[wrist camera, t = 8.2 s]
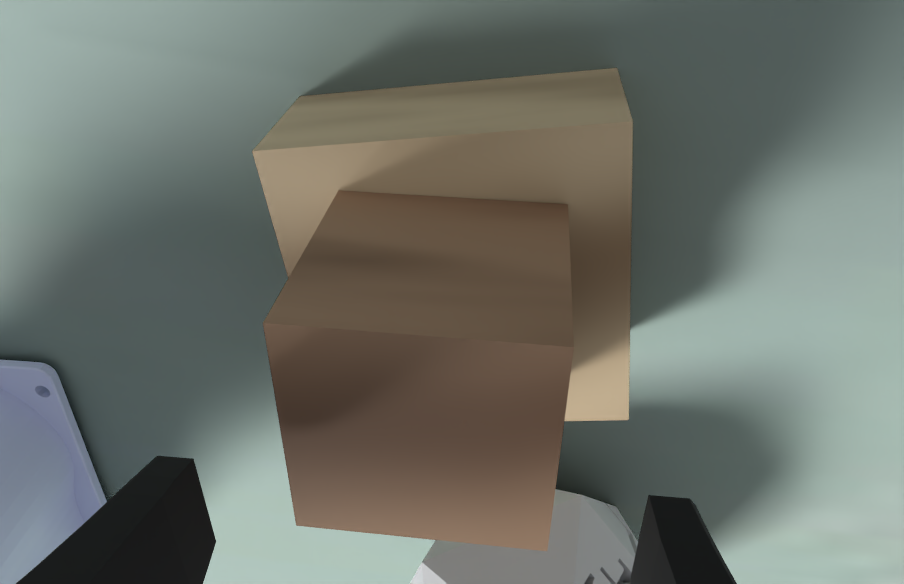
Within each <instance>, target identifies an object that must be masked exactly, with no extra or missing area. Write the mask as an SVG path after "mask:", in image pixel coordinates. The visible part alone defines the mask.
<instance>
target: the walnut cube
mask: <svg viewBox="0 0 904 584" xmlns="http://www.w3.org/2000/svg"><path fill="white" fill-rule="evenodd" d="M263 327H264V333H265V339H266V345H267V351H268V357H269V363H270V369H271V375H272V381H273V387H274V393H275V400H276V406H277V412H278V418H279V424H280V430H281V436H282V442H283V448H284V454H285V460H286V466H287V472H288V478H289V484H290V490H291V496H292V502H293V508H294V514H295V521H296V525H297V526H307V527H316V528H326V529H336V530H345V531H355V532H365V533H374V534H384V535H394V536H403V537H413V538H423V539H432V540H442V541H452V542H461V543H471V544H481V545H490V546H500V547H510V548H519V549H529V550H539V551H547V550H548V542H549V535H550V527H551V520H552V512H553V504H554V497H555V489H556V481H557V474H558V466H559V458H560V451H561V443H562V436H563V428H564V420H565V413H566V405H567V397H568V390H569V382H570V374H571V367H572V359H573V352H574V334H573V311H572V287H571V263H570V240H569V216H568V204H556V203H539V202H523V201H506V200H490V199H473V198H457V197H440V196H423V195H407V194H390V193H374V192H357V191H341V190H338V192H337V194H336V196H335V197H334V199H333V201H332V203H331V204H330V206H329V208H328V210H327V211H326V213H325V215H324V217H323V218H322V220H321V222H320V224H319V225H318V227H317V229H316V231H315V232H314V234H313V236H312V238H311V239H310V241H309V243H308V245H307V246H306V248H305V250H304V252H303V253H302V255H301V257H300V259H299V260H298V262H297V264H296V266H295V267H294V269H293V271H292V273H291V275H290V276H289V278H288V280H287V282H286V283H285V285H284V287H283V289H282V290H281V292H280V294H279V296H278V297H277V299H276V301H275V303H274V304H273V306H272V308H271V310H270V311H269V313H268V315H267V317H266V318H265V320H264V322H263Z"/></svg>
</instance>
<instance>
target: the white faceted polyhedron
mask: <svg viewBox="0 0 904 584" xmlns="http://www.w3.org/2000/svg"><path fill="white" fill-rule="evenodd" d="M637 545H638V541H637V539H636V538H635V536H634V534H633V533H632V531H631V530H630V528H629V526H628V525H627V523H626V522H625V520H624V518H623V517H622V515H621V514H620V512H619V510H618V509H617V507H616V506H613V505H610V504H607V503H604V502H601V501H598V500H595V499H592V498H589V497H586V496H584V495H580V494H576V493H571V492H566V491H562V490H557V489H555V497H554V504H553V512H552V520H551V527H550V535H549V542H548V550H547V551H539V550H529V549H519V548H510V547H500V546H490V545H481V544H471V543H461V542H452V541H442V540H436V541H435V542H434V544H433V545H432V547H431V549H430V550H429V552H428V553H427V555H426V557H425V558H424V560H423V561H422V563H421V565H420V566H419V568H418V570H417V572H416V573H415V575H414V577H413V579H412V580H411V582H410V584H630V577H631V572H632V568H633V563H634V559H635V554H636V550H637Z"/></svg>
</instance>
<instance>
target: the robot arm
mask: <svg viewBox="0 0 904 584" xmlns="http://www.w3.org/2000/svg"><path fill="white" fill-rule="evenodd" d="M215 543H216V540H215V536H214V532H213V529H212V525H211V521H210V518H209V514H208V510H207V507H206V503H205V499H204V496H203V492H202V488H201V485H200V481H199V478H198V474H197V470H196V467H195V463H194V459H190V458H177V457H165V456H157V457H155V458H154V459H153V460H152V461H151V462H150V463H149V464H148V465H146V466H145V467H144V468H143V469H142V470H141V471H140V472H139V473H138V474H137V475H135V476H134V477H133V478H132V479H131V480H130V481H129V482H128V483H127V484H126V485H125V486H124V487H123V488H121V489H120V490H119V491H118V492H117V493H116V494H115V495H114V496H113V497H112V498H111V499H110V500H109V501H106V498H105V496H104V493H103V491H102V488H101V485H100V483H99V480H98V478H97V475H96V472H95V470H94V467H93V465H92V462H91V459H90V457H89V454H88V452H87V449H86V446H85V444H84V441H83V439H82V436H81V433H80V431H79V428H78V426H77V423H76V420H75V418H74V415H73V413H72V410H71V408H70V405H69V402H68V400H67V397H66V395H65V392H64V389H63V387H62V384H61V382H60V379H59V376H58V374H57V372H56V371H55V369H53V368H52V367H51V366H49V365H48V364H45V363H41V362H28V361H14V360H0V584H203V581H204V578H205V575H206V572H207V569H208V566H209V563H210V559H211V556H212V553H213V550H214V546H215ZM630 584H737V583H736V582H735V580H734V578H733V576H732V574H731V573H730V571H729V569H728V567H727V565H726V564H725V562H724V560H723V558H722V556H721V554H720V553H719V551H718V549H717V547H716V545H715V543H714V541H713V539H712V537H711V535H710V534H709V532H708V530H707V528H706V526H705V524H704V522H703V520H702V518H701V516H700V513H699V511H698V509H697V507H696V505H695V504H694V503H693V502H692V501H691V500H690V499H688V498H676V497H663V496H651V495H648V500H647V504H646V509H645V513H644V518H643V523H642V527H641V532H640V536H639V541H638V545H637V550H636V554H635V559H634V563H633V568H632V572H631V577H630Z"/></svg>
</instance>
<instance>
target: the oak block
mask: <svg viewBox="0 0 904 584" xmlns="http://www.w3.org/2000/svg"><path fill="white" fill-rule="evenodd" d="M252 153H253V156H254V160H255V163H256V167H257V170H258V174H259V177H260V181H261V184H262V188H263V191H264V195H265V198H266V202H267V205H268V209H269V212H270V216H271V219H272V223H273V226H274V230H275V233H276V237H277V240H278V244H279V247H280V251H281V254H282V258H283V261H284V265H285V268H286V272H287V275H288V278H289V276H290V275H291V273H292V271H293V269H294V267H295V266H296V264H297V262H298V260H299V259H300V257H301V255H302V253H303V252H304V250H305V248H306V246H307V245H308V243H309V241H310V239H311V238H312V236H313V234H314V232H315V231H316V229H317V227H318V225H319V224H320V222H321V220H322V218H323V217H324V215H325V213H326V211H327V210H328V208H329V206H330V204H331V203H332V201H333V199H334V197H335V196H336V194H337V192H338V190H341V191H357V192H374V193H390V194H407V195H423V196H440V197H457V198H473V199H490V200H506V201H523V202H539V203H556V204H568V216H569V240H570V263H571V287H572V311H573V334H574V352H573V359H572V367H571V374H570V382H569V390H568V397H567V405H566V413H565V420H564V421H605V420H629V363H630V293H631V223H632V153H633V120H632V116H631V113H630V110H629V106H628V103H627V100H626V96H625V93H624V90H623V86H622V83H621V79H620V76H619V73H618V69H617V68H609V69H598V70H587V71H575V72H564V73H553V74H542V75H531V76H520V77H508V78H497V79H486V80H475V81H464V82H453V83H442V84H430V85H419V86H408V87H397V88H386V89H375V90H363V91H352V92H341V93H330V94H319V95H308V96H300V97H299V98H298V99H297V100H296V101H295V102H294V103H293V105H292V106H291V107H290V108H289V109H288V110H287V112H286V113H285V114H284V115H283V116H282V117H281V118H280V120H279V121H278V122H277V123H276V124H275V125H274V126H273V128H272V129H271V130H270V131H269V132H268V133H267V135H266V136H265V137H264V138H263V139H262V140H261V141H260V143H259V144H258V145H257V146H256V147H255V148H254V150H253V151H252Z"/></svg>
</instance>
